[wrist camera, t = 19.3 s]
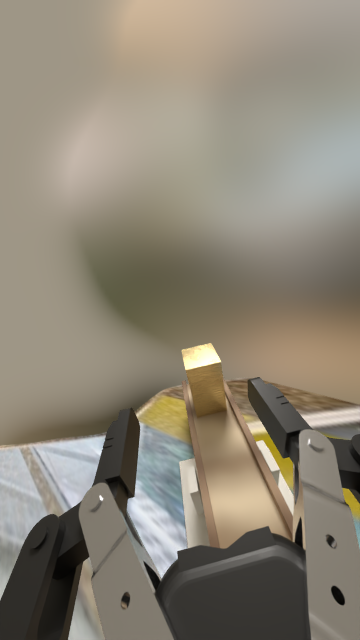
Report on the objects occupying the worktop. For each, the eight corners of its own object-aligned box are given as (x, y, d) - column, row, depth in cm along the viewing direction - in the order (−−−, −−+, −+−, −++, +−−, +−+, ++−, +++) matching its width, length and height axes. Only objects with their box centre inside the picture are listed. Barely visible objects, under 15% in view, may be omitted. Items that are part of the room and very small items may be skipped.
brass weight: (227, 410, 27) (220, 361, 23) (197, 417, 27) (185, 370, 23) (217, 387, 32) (210, 343, 28) (191, 393, 32) (181, 350, 28)
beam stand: (313, 539, 19) (323, 513, 16) (191, 573, 18) (178, 553, 15) (262, 443, 28) (263, 416, 25) (180, 465, 27) (171, 439, 25)
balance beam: (456, 877, 7) (491, 911, 6) (282, 938, 7) (286, 983, 6) (221, 382, 35) (220, 371, 34) (184, 391, 35) (181, 381, 33)
